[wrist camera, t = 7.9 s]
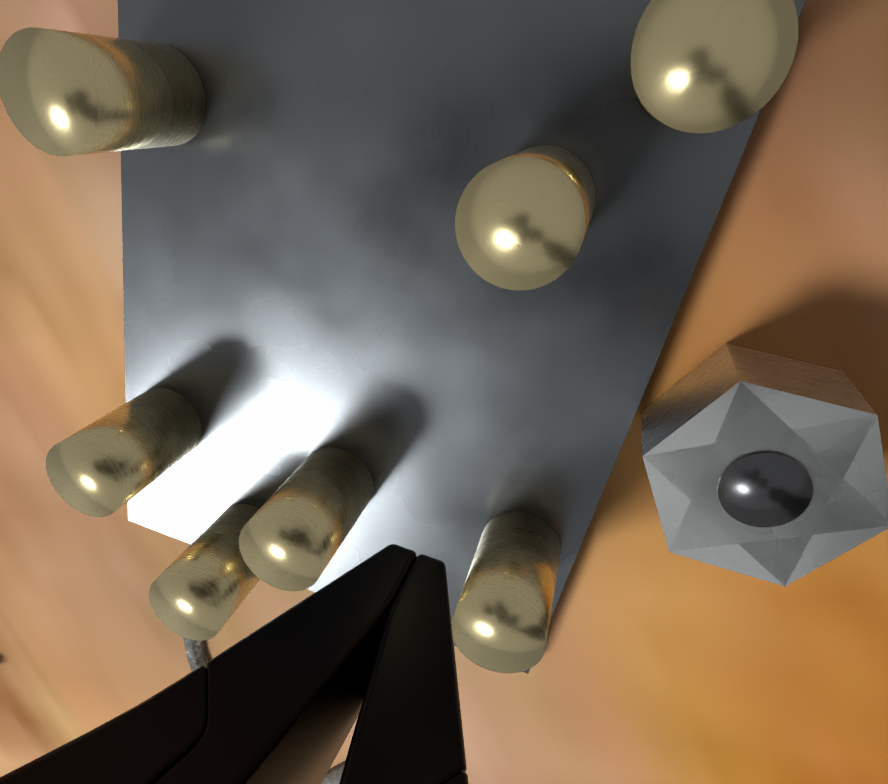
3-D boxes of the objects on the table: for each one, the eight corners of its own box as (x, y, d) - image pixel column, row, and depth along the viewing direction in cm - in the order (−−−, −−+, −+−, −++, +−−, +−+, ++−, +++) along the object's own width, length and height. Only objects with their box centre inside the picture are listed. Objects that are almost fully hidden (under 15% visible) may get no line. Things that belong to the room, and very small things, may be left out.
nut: (902, 383, 14) (951, 434, 12) (817, 538, 16) (846, 606, 14) (669, 327, 15) (675, 365, 13) (616, 481, 17) (613, 537, 15)
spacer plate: (800, 0, 12) (873, -45, 8) (530, 658, 20) (509, 777, 16) (135, -143, 14) (-38, -228, 10) (140, 509, 22) (46, 588, 18)
